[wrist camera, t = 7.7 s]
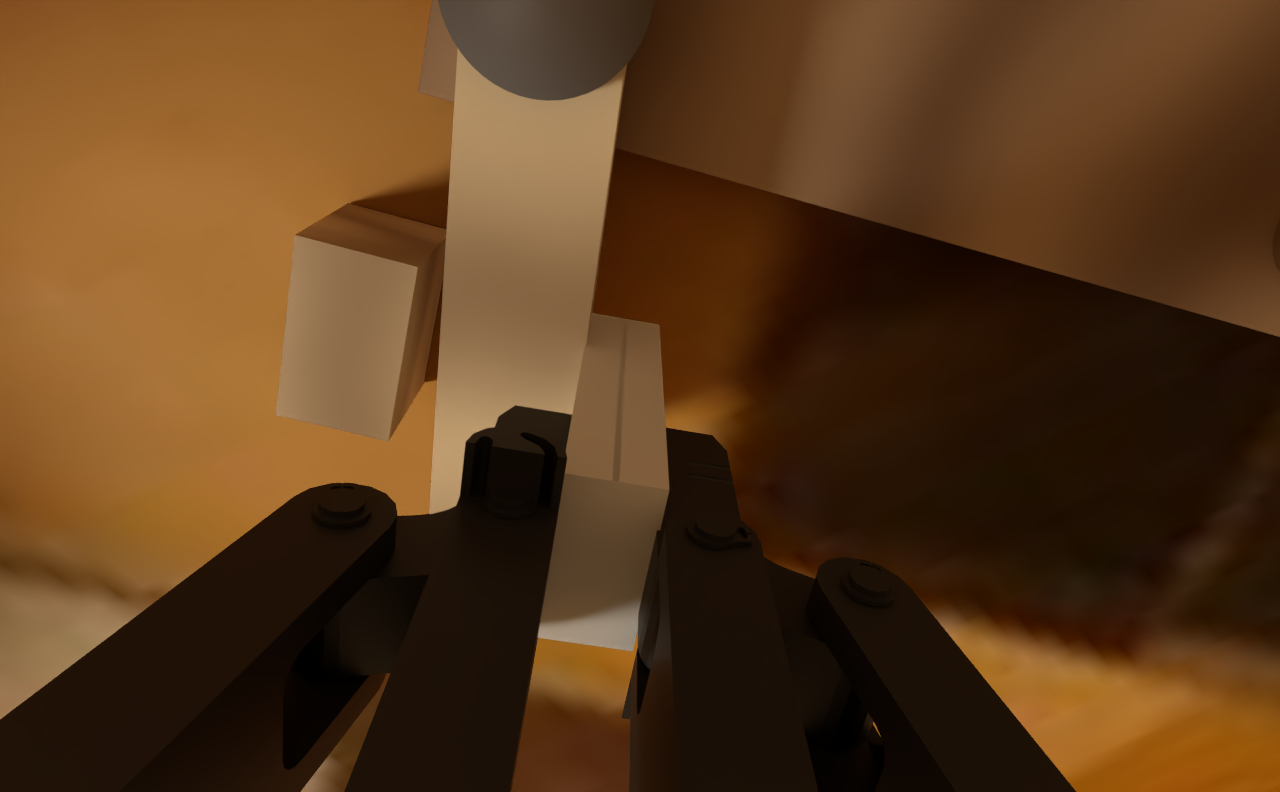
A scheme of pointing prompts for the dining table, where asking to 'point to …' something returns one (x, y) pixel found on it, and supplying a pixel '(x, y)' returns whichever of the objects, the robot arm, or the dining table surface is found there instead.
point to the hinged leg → (524, 207)
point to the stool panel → (886, 158)
